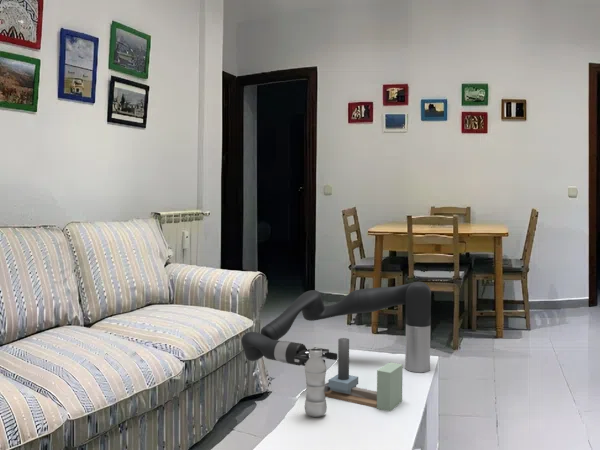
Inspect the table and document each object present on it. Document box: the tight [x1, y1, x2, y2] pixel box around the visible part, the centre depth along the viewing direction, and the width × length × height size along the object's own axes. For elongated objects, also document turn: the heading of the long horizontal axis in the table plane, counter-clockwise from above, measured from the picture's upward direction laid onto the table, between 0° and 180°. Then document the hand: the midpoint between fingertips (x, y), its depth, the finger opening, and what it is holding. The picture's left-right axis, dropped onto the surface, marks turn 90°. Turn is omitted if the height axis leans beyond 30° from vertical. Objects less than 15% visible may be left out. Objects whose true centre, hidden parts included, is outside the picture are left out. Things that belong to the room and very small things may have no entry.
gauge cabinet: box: [376, 361, 404, 412], centre depth 176 cm, size 10×5×12 cm, turn 148°
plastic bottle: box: [304, 347, 328, 418], centre depth 167 cm, size 6×7×20 cm
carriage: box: [327, 337, 359, 394], centre depth 185 cm, size 8×7×17 cm
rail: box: [324, 382, 377, 409], centre depth 183 cm, size 9×20×3 cm, turn 58°
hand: (330, 359), depth 187 cm, fingers open, 8 cm apart
